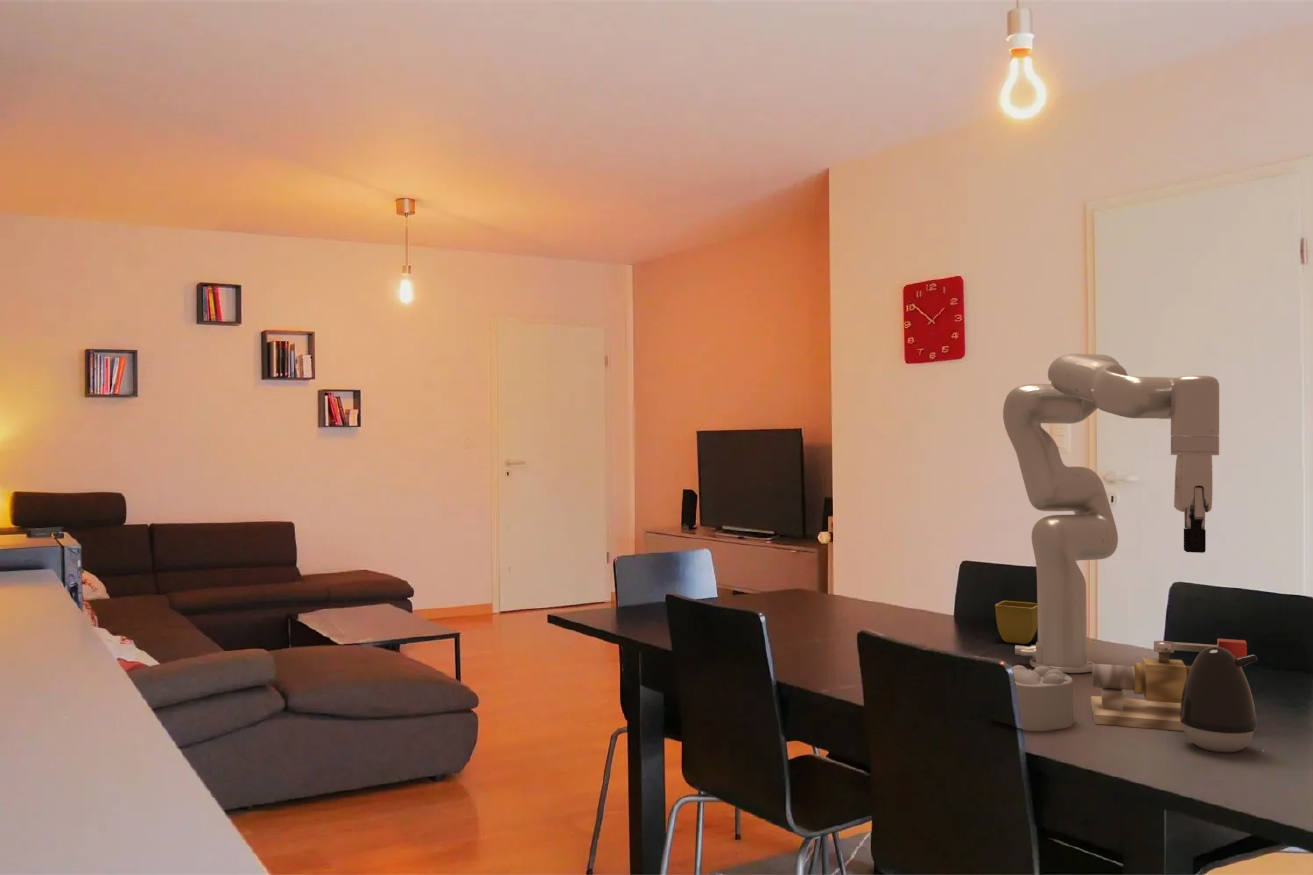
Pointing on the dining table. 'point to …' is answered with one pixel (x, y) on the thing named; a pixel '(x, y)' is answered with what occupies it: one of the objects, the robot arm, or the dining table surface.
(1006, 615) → the flower pot
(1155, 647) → the valve lever
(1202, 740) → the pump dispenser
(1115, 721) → the valve bench
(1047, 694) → the lumpy-topped squat cylinder
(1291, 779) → the dining table surface
